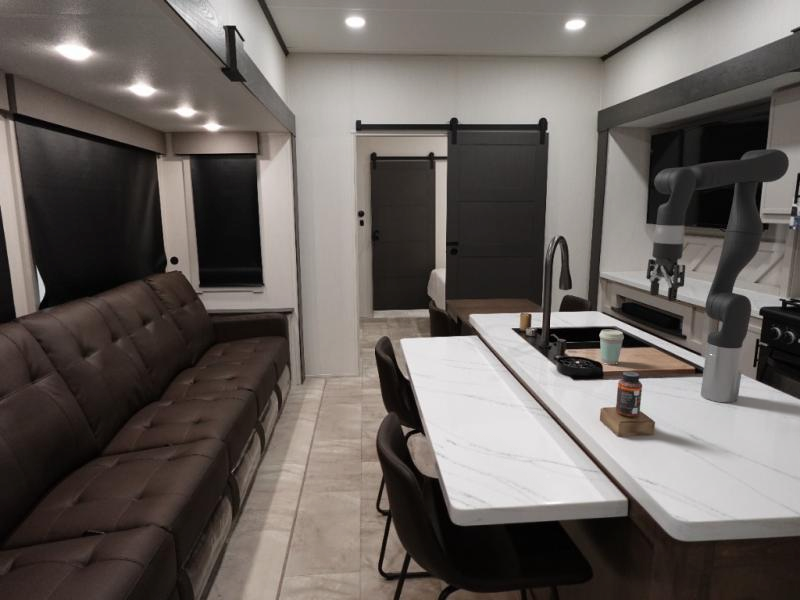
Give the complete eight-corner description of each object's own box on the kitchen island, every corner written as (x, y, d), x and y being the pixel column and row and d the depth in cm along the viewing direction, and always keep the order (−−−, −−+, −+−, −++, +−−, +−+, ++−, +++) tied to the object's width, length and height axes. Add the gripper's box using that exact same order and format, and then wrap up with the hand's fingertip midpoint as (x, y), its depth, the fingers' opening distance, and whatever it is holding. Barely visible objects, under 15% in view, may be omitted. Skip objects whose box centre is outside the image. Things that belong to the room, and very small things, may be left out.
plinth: (633, 419, 150) (634, 405, 149) (653, 434, 140) (655, 420, 140) (599, 420, 149) (600, 407, 148) (617, 436, 139) (619, 422, 138)
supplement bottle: (641, 418, 141) (645, 378, 138) (617, 417, 142) (621, 376, 139) (636, 410, 146) (640, 370, 144) (613, 408, 147) (617, 369, 145)
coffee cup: (623, 361, 201) (626, 331, 199) (619, 367, 194) (622, 336, 192) (599, 358, 206) (602, 327, 203) (594, 363, 198) (597, 332, 196)
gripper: (697, 243, 143) (690, 302, 146) (666, 239, 156) (660, 293, 160) (671, 243, 142) (664, 303, 145) (641, 239, 156) (636, 293, 159)
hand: (662, 298), depth 152 cm, fingers open, 8 cm apart
